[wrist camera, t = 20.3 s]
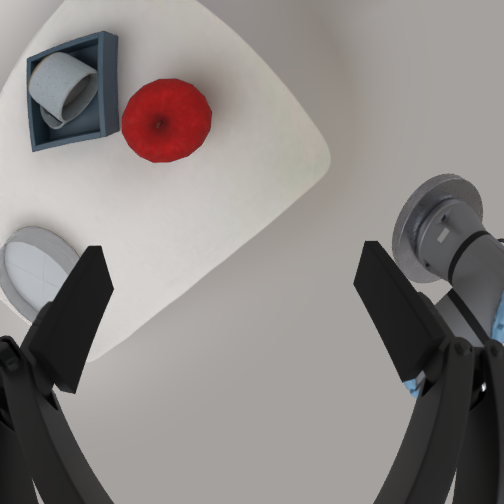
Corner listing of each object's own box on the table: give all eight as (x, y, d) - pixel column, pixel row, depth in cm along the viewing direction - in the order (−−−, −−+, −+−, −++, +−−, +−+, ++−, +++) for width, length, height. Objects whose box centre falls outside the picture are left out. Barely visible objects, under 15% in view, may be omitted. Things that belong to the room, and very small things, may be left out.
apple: (226, 98, 32) (226, 100, 23) (194, 160, 36) (183, 187, 27) (159, 70, 29) (132, 64, 20) (130, 134, 33) (98, 152, 24)
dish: (100, 253, 43) (90, 271, 38) (88, 330, 52) (81, 347, 48) (6, 210, 36) (-9, 222, 31) (10, 291, 45) (1, 305, 41)
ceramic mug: (70, 50, 24) (39, 47, 17) (109, 72, 27) (82, 71, 21) (38, 113, 28) (6, 123, 22) (73, 136, 31) (44, 150, 25)
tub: (118, 36, 25) (104, 30, 21) (119, 130, 33) (106, 136, 29) (45, 58, 24) (26, 58, 20) (49, 144, 32) (32, 152, 28)
